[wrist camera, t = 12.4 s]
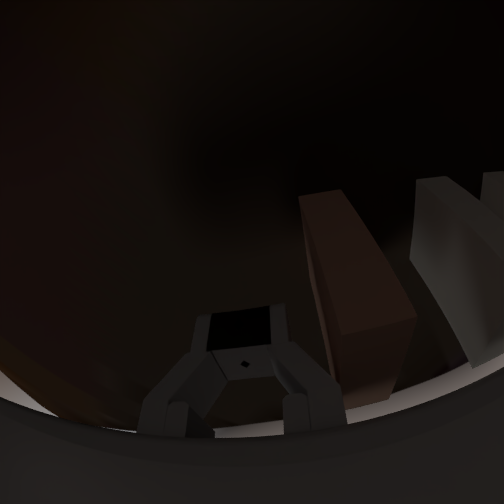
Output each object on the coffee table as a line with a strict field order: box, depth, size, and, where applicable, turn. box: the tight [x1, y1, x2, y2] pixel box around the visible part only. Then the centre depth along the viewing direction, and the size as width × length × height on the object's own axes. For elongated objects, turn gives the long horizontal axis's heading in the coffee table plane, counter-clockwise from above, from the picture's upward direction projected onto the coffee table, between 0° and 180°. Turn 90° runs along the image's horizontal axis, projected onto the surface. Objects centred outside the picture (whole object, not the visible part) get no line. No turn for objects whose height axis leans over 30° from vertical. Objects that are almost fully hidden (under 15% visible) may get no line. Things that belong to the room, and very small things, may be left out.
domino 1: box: [298, 189, 418, 410], centre depth 10 cm, size 2×4×7 cm, turn 13°
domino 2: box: [410, 176, 504, 368], centre depth 9 cm, size 2×4×7 cm, turn 12°
